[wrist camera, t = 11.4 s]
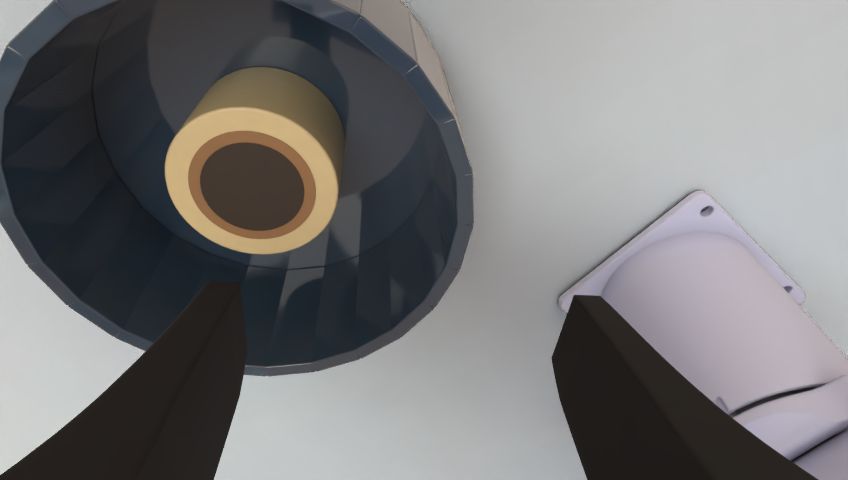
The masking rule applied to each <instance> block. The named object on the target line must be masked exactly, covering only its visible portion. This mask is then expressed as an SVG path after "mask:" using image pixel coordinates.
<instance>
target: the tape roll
mask: <svg viewBox="0 0 848 480" xmlns="http://www.w3.org/2000/svg"><path fill="white" fill-rule="evenodd" d="M344 146H345V139H344V131H343V127H342V123H341V120H340V118H339V115H338V113H337V112H336V110H335V108H334V106H333V105H332V104H331V102H330V101H329V99H328V98H327V97H326V96H325V95H324V94H323V93H322V92H321V91H320V90H319V89H318V88H317V87H315V86H314V85H313V84H311V83H310V82H308V81H307V80H305V79H304V78H302V77H300V76H298V75H296V74H293V73H291V72H288V71H285V70H281V69H276V68H269V67H252V68H245V69H241V70H238V71H235V72H232V73H230V74H228V75H226V76H224V77H223V78H221V79H220V80H218V81H217V82H216V83H215V84H214V85H213V86H211V88H210V89H209V90H208V91H207V93H206V94H205V95H204V97H203V98H202V99H201V101H200V102H199V104H198V105H197V106H196V108H195V109H194V110H193V112H192V113H191V115H190V116H189V117H188V119H187V120H186V122H185V123H184V124H183V126H182V127H181V129H180V130H179V131H178V133H177V134H176V136H175V137H174V139H173V141H172V142H171V144H170V146H169V149H168V152H167V155H166V161H165V179H166V185H167V188H168V191H169V195H170V197H171V199H172V201H173V203H174V205H175V207H176V208H177V210H178V211H179V213H180V214H181V215H182V217H183V218H184V219H185V220H186V221H187V222H188V223H189V224H190V225H191V226H192V227H193V228H194V229H195V230H196V231H198V232H199V233H200V234H202V235H203V236H205V237H206V238H208V239H209V240H211V241H213V242H215V243H217V244H219V245H221V246H224V247H226V248H229V249H232V250H235V251H239V252H244V253H250V254H276V253H283V252H287V251H291V250H293V249H296V248H299V247H301V246H303V245H305V244H307V243H308V242H310V241H311V240H313V239H314V238H315V237H317V236H318V235H319V234H320V233H321V232H322V231H323V230H324V229H325V227H326V226H327V225H328V224H329V222H330V220H331V219H332V217H333V215H334V212H335V210H336V207H337V202H338V197H339V189H340V181H341V172H342V164H343V156H344Z"/></svg>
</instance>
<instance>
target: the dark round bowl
mask: <svg viewBox="0 0 848 480" xmlns="http://www.w3.org/2000/svg"><path fill="white" fill-rule="evenodd" d="M252 67H269V68H276V69H281V70H285V71H288V72H291V73H293V74H296V75H298V76H300V77H302V78H304V79H305V80H307V81H308V82H310V83H311V84H313V85H314V86H315V87H317V88H318V89H319V90H320V91H321V92H322V93H323V94H324V95H325V96H326V97H327V98H328V99H329V101H330V102H331V104H332V105H333V106H334V108H335V110H336V112H337V113H338V115H339V118H340V120H341V123H342V127H343V131H344V139H345V146H344V156H343V164H342V172H341V181H340V189H339V197H338V202H337V207H336V210H335V212H334V215H333V217H332V219H331V220H330V222H329V224H328V225H327V226H326V227H325V229H324V230H323V231H322V232H321V233H320V234H319V235H318V236H317V237H315V238H314V239H313V240H311V241H310V242H308V243H307V244H305V245H303V246H301V247H299V248H296V249H293V250H291V251H287V252H283V253H276V254H250V253H244V252H239V251H235V250H232V249H229V248H226V247H224V246H221V245H219V244H217V243H215V242H213V241H211V240H209V239H208V238H206V237H205V236H203V235H202V234H200V233H199V232H198V231H196V230H195V229H194V228H193V227H192V226H191V225H190V224H189V223H188V222H187V221H186V220H185V219H184V218H183V217H182V215H181V214H180V213H179V211H178V210H177V208H176V207H175V205H174V203H173V201H172V199H171V197H170V195H169V191H168V188H167V185H166V179H165V161H166V155H167V152H168V149H169V146H170V144H171V142H172V141H173V139H174V137H175V136H176V134H177V133H178V131H179V130H180V129H181V127H182V126H183V124H184V123H185V122H186V120H187V119H188V117H189V116H190V115H191V113H192V112H193V110H194V109H195V108H196V106H197V105H198V104H199V102H200V101H201V99H202V98H203V97H204V95H205V94H206V93H207V91H208V90H209V89H210V88H211V86H213V85H214V84H215V83H216V82H217V81H218V80H220V79H221V78H223V77H224V76H226V75H228V74H230V73H232V72H235V71H238V70H241V69H245V68H252ZM0 223H1V225H2V226H3V228H4V230H5V231H6V233H7V234H8V236H9V238H10V239H11V241H12V242H13V244H14V246H15V247H16V249H17V250H18V252H19V254H20V255H21V257H22V258H23V260H24V262H25V263H26V264H28V267H29V268H30V269H31V270H32V271H33V272H34V273H35V274H36V275H37V276H38V277H39V278H40V279H41V280H42V281H43V282H44V283H45V284H46V285H47V286H48V287H49V288H50V289H51V290H52V291H53V292H54V293H55V294H56V295H57V296H58V297H59V298H60V299H61V300H62V301H63V302H64V303H65V304H66V305H68V306H69V307H70V308H71V309H73V310H74V311H76V312H77V313H79V314H80V315H82V316H83V317H85V318H86V319H88V320H89V321H91V322H92V323H94V324H95V325H97V326H98V327H100V328H101V329H103V330H104V331H106V332H107V333H109V334H110V335H112V336H113V337H115V338H117V339H119V340H121V341H123V342H126V343H128V344H130V345H133V346H135V347H137V348H139V349H142V350H144V351H146V350H147V349H148V348H149V347H150V346H151V345H152V344H153V343H154V342H155V341H156V340H157V339H158V338H159V337H160V336H161V334H162V333H163V332H164V331H165V330H166V329H167V328H168V327H169V326H170V325H171V324H172V322H173V321H174V320H175V319H176V318H177V317H178V316H179V315H180V313H181V312H182V311H183V310H184V309H185V308H186V306H187V305H188V304H189V303H190V302H191V301H192V299H193V298H194V297H195V296H196V295H197V293H198V292H199V291H200V290H201V289H202V287H203V286H204V285H205V284H206V283H208V282H209V281H226V282H240V286H241V295H242V304H243V313H244V322H245V332H246V341H247V350H248V352H247V358H246V363H245V369H244V375H255V376H277V375H288V374H299V373H309V372H315V371H321V370H324V369H328V368H331V367H335V366H338V365H341V364H345V363H348V362H352V361H355V360H359V359H360V358H364V357H365V356H367V355H369V354H371V353H373V352H375V351H377V350H379V349H381V348H382V347H384V346H386V345H388V344H390V343H392V342H394V341H396V340H398V339H399V338H400V337H402V336H404V335H405V334H406V333H407V332H408V331H409V330H410V329H411V328H413V327H414V326H415V325H416V324H417V323H418V322H419V321H421V320H422V319H423V318H424V317H425V316H426V315H427V314H429V313H430V312H431V311H432V310H433V309H434V307H436V305H437V304H438V302H439V301H440V299H441V298H442V296H443V295H444V293H445V292H446V290H447V289H448V287H449V286H450V284H451V283H452V281H453V280H454V278H455V277H456V275H457V274H458V272H459V269H460V268H461V265H462V262H463V258H464V255H465V251H466V248H467V245H468V241H469V238H470V235H471V231H472V228H473V223H474V212H473V173H472V168H471V164H470V160H469V157H468V153H467V150H466V146H465V143H464V139H463V136H462V132H461V129H460V125H459V122H458V118H457V115H456V111H455V107H454V104H453V100H452V97H451V94H450V91H449V88H448V85H447V82H446V79H445V75H444V72H443V69H442V66H441V63H440V60H439V57H438V55H437V53H436V51H435V49H434V48H433V46H432V44H431V42H430V41H429V39H428V37H427V35H426V33H425V32H424V30H423V28H422V27H421V25H420V24H419V23H418V21H417V20H416V19H415V17H414V16H413V15H412V13H411V12H410V11H409V9H408V8H407V7H406V6H405V5H404V4H403V3H402V2H401V1H400V0H53V1H52V2H51V3H50V4H49V5H48V6H47V7H46V8H45V9H44V10H43V11H42V12H41V13H39V14H38V15H37V16H36V17H35V18H34V19H33V20H32V21H31V22H30V23H29V24H28V25H27V26H26V27H25V28H24V29H23V30H21V31H20V32H19V33H18V34H17V35H16V36H15V37H14V38H13V39H12V40H11V41H10V42H9V44H8V45H7V46H6V48H5V50H4V53H3V55H2V57H1V59H0Z"/></svg>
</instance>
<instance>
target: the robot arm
mask: <svg viewBox="0 0 848 480" xmlns="http://www.w3.org/2000/svg"><path fill="white" fill-rule="evenodd" d="M706 206H708V208H707V209H706V210H704V211H702V212H701V210H702V209H703V208H705V207H706ZM805 299H806V294H805V293H804V292H803V291H802V290H801V289H800V288H799V287H798V285H797V284H796V283H795V282H794V281H793V280H792V279H791V278H790V277H789V276H788V275H787V274H786V273H785V272H784V271H783V270H782V269H781V268H780V267H779V266H778V265H777V264H776V263H775V262H774V261H773V260H772V259H771V258H770V257H769V256H768V255H767V254H766V253H765V252H764V251H763V250H762V249H761V248H760V247H759V246H758V245H757V244H756V243H755V242H754V240H753V239H752V238H751V237H750V236H749V235H748V234H747V233H746V232H745V231H744V230H743V229H742V228H741V227H740V226H739V225H738V224H737V223H736V222H735V221H734V220H733V219H732V218H731V217H730V216H729V215H728V214H727V213H726V212H725V211H724V210H723V209H722V208H721V207H720V206H719V205H718V204H717V203H716V202H715V201H714V200H713V199H712V198H711V196H710V195H709V194H708V193H706V192H705V191H700V190H699V191H695V192H693V193H691V194H690V195H688V196H687V197H686V198H684V199H683V200H682V201H681V202H679V203H678V204H677V205H676V206H674V207H673V208H672V209H670V210H669V211H668V212H667V213H665V214H664V215H663V216H662V217H660V218H659V219H658V220H656V221H655V222H654V223H653V224H651V225H650V226H649V227H648V228H646V229H645V230H644V231H642V232H641V233H640V234H639V235H637V236H636V237H635V238H634V239H632V240H631V241H630V242H628V243H627V244H626V245H625V246H623V247H622V248H621V249H620V250H618V251H617V252H616V253H614V254H613V255H612V256H611V257H609V258H608V259H607V260H606V261H604V262H603V263H602V264H600V265H599V266H598V267H597V268H595V269H594V270H593V271H592V272H590V273H589V274H588V275H586V276H585V277H584V278H583V279H581V280H580V281H579V282H578V283H576V284H575V285H574V286H572V287H571V288H570V289H569V290H567V291H566V292H565V293H563V294H562V295H561V296H560V297H559V300H558V302H559V306H560V308H561V309H562V310H563V311H564V312H566V313H567V316H566V319H565V322H564V324H563V327H562V330H561V333H560V336H559V339H558V341H557V344H556V347H555V350H554V353H553V356H552V363H553V368H554V374H555V379H556V384H557V388H558V393H559V398H560V401H561V405H562V408H563V411H564V414H565V417H566V419H567V422H568V425H569V428H570V431H571V434H572V437H573V440H574V443H575V446H576V448H577V451H578V454H579V457H580V460H581V463H582V466H583V468H584V471H585V474H586V477H587V480H848V358H847V357H846V356H845V355H844V354H843V353H842V352H841V351H840V349H839V348H838V347H837V346H836V345H835V344H834V343H833V342H832V341H831V340H830V339H829V337H828V336H827V335H826V334H825V333H824V332H823V331H822V330H821V329H820V328H819V327H818V325H817V324H816V323H815V322H814V321H813V320H812V319H811V318H810V317H809V316H808V314H807V313H806V312H805V311H804V310H803V309H802V308H801V307H800V306H799V305H800V304H801V303H803V302H804V300H805ZM247 352H248V350H247V341H246V332H245V322H244V313H243V304H242V295H241V286H240V282H226V281H209V282H208V283H206V284H205V285H204V286H203V287H202V289H201V290H200V291H199V292H198V293H197V295H196V296H195V297H194V298H193V299H192V301H191V302H190V303H189V304H188V305H187V306H186V308H185V309H184V310H183V311H182V312H181V313H180V315H179V316H178V317H177V318H176V319H175V320H174V321H173V322H172V324H171V325H170V326H169V327H168V328H167V329H166V330H165V331H164V332H163V333H162V334H161V336H160V337H159V338H158V339H157V340H156V341H155V342H154V343H153V344H152V345H151V346H150V347H149V348H148V349H147V350H146V352H145V353H144V354H143V355H142V356H141V357H140V358H139V359H138V360H137V361H136V362H135V363H134V364H133V365H132V366H131V367H130V368H129V369H128V370H126V371H125V372H124V373H123V374H122V375H121V376H120V377H119V378H118V379H117V380H116V381H115V382H114V383H113V384H112V385H111V386H110V387H109V388H108V389H107V390H106V391H105V392H103V393H102V394H101V395H100V396H99V397H98V398H97V399H96V400H95V401H93V402H92V403H91V404H90V405H89V406H88V407H87V408H86V409H84V410H83V411H82V412H81V413H80V414H79V415H77V416H76V417H75V418H74V419H73V420H71V421H70V422H69V423H68V424H67V425H65V426H64V427H63V428H62V429H61V430H59V431H58V432H57V433H56V434H54V435H53V436H52V437H50V438H49V439H48V440H47V441H45V442H44V443H43V444H41V445H40V446H39V447H37V448H36V449H35V450H34V451H32V452H31V453H30V454H28V455H27V456H26V457H24V458H23V459H22V460H21V461H19V462H18V463H17V464H15V465H14V466H12V467H11V468H10V469H8V470H7V471H6V472H4V473H3V474H1V475H0V480H214V477H215V473H216V470H217V467H218V464H219V461H220V457H221V454H222V451H223V448H224V445H225V441H226V438H227V435H228V432H229V429H230V425H231V422H232V419H233V416H234V412H235V409H236V406H237V402H238V399H239V396H240V391H241V385H242V380H243V375H244V369H245V363H246V358H247Z"/></svg>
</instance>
